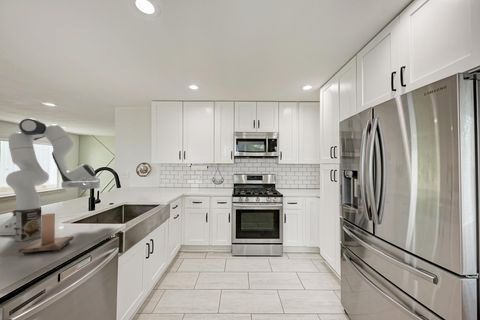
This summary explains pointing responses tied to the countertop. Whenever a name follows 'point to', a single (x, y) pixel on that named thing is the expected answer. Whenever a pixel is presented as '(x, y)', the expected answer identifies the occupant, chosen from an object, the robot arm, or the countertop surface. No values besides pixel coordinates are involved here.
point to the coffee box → (28, 224)
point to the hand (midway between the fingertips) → (75, 185)
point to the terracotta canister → (48, 228)
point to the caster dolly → (45, 245)
